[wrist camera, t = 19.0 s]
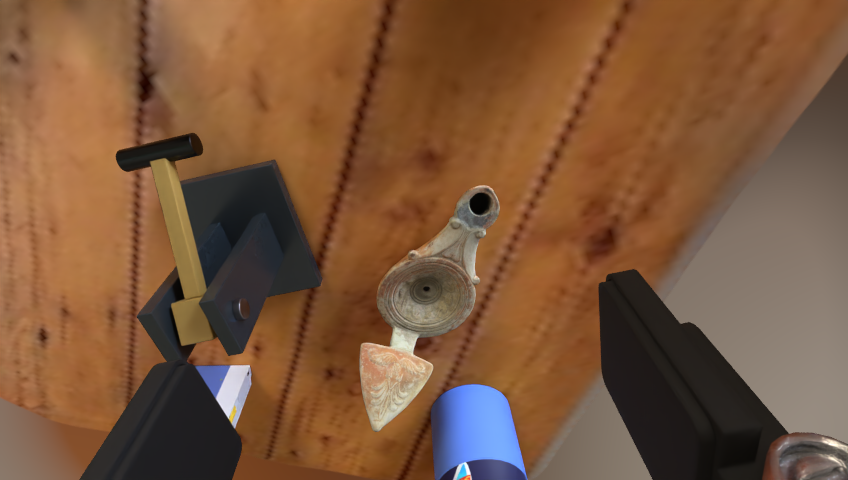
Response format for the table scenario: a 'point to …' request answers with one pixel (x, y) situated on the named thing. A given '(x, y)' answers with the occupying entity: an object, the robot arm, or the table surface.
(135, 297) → the table surface
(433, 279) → the oil lamp
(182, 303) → the switch lever
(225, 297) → the switch base
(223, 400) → the walkman
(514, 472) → the water bottle
